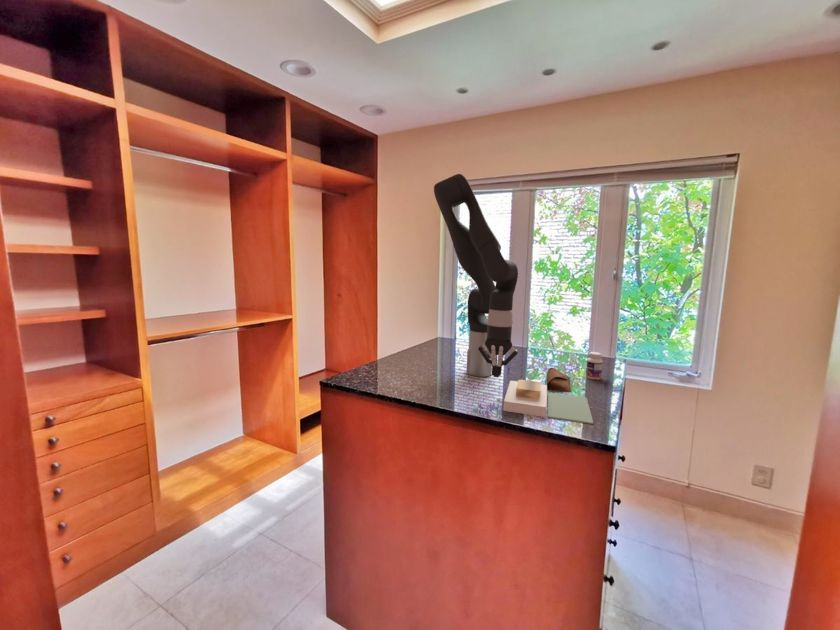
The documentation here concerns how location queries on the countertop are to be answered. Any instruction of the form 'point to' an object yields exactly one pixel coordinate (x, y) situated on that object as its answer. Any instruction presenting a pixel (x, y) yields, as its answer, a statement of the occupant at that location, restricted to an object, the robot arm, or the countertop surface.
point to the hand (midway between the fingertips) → (496, 376)
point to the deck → (525, 401)
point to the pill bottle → (594, 366)
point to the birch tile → (528, 389)
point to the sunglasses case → (557, 381)
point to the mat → (569, 408)
